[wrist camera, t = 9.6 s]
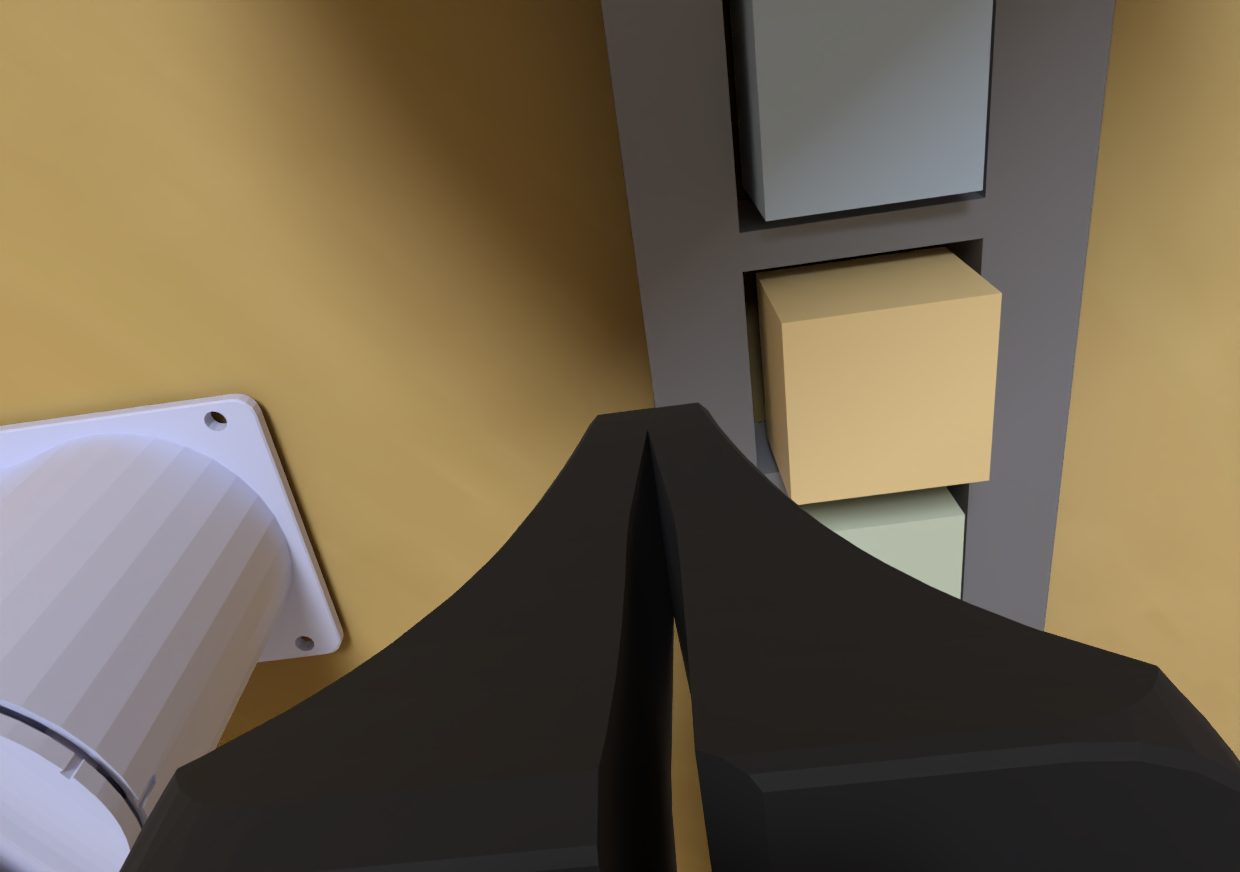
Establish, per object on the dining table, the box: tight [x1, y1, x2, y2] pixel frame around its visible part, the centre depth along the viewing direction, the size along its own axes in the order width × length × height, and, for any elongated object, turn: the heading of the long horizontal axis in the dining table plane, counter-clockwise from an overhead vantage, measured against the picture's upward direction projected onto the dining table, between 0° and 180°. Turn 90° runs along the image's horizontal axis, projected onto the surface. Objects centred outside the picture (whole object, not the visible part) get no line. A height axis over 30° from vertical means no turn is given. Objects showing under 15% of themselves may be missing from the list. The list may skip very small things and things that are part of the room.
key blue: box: [729, 0, 993, 221], centre depth 17 cm, size 4×4×3 cm
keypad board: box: [601, 0, 1115, 631], centre depth 23 cm, size 9×30×2 cm, turn 8°
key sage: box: [799, 486, 965, 599], centre depth 22 cm, size 4×4×3 cm
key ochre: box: [756, 246, 1002, 505], centre depth 18 cm, size 4×4×3 cm
